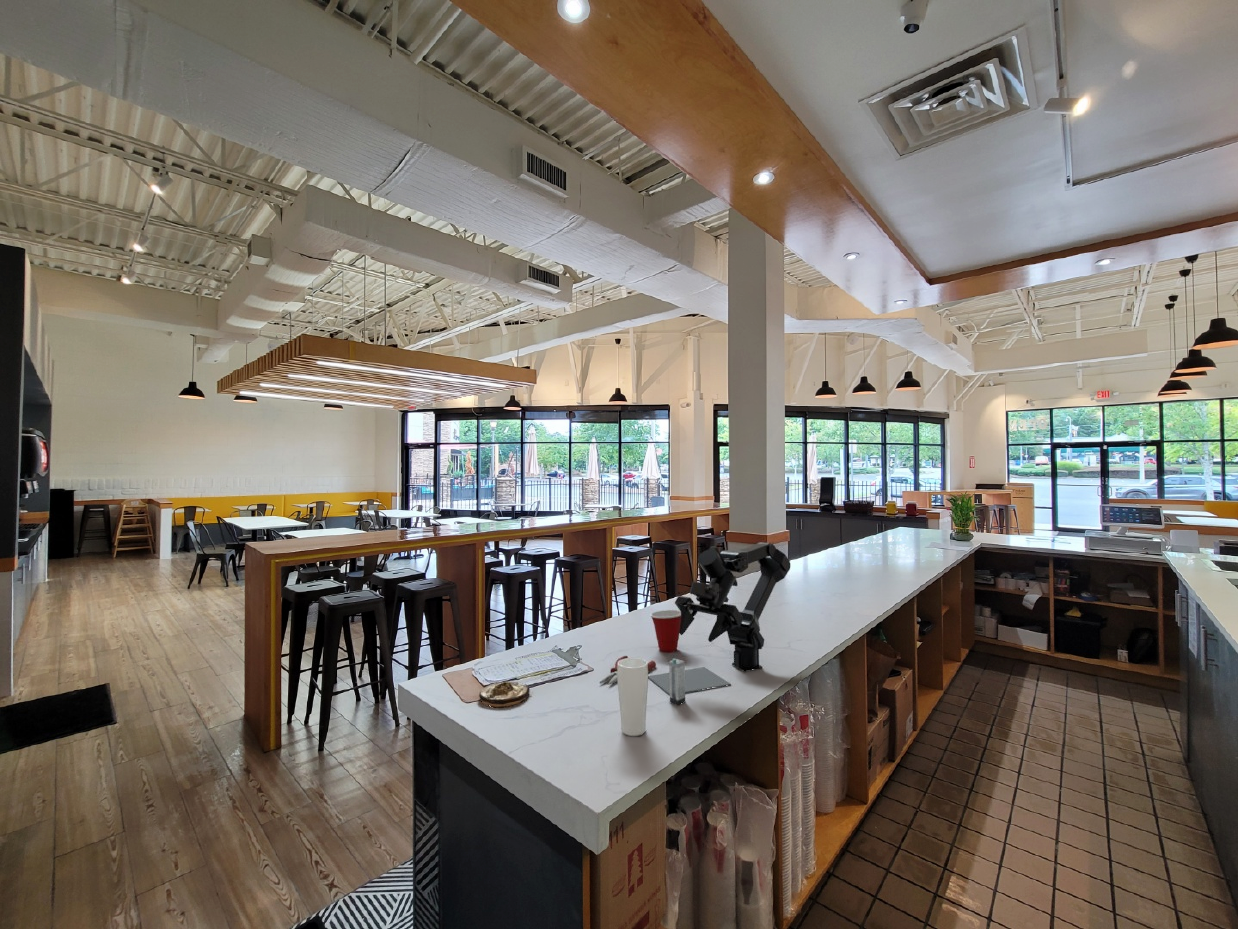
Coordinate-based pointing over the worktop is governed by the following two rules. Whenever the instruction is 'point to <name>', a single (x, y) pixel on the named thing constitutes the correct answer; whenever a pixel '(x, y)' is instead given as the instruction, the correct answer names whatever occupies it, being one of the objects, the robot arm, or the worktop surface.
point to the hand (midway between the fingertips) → (694, 637)
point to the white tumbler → (633, 694)
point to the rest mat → (691, 680)
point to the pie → (504, 694)
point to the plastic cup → (667, 629)
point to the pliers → (613, 672)
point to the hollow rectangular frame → (677, 681)
